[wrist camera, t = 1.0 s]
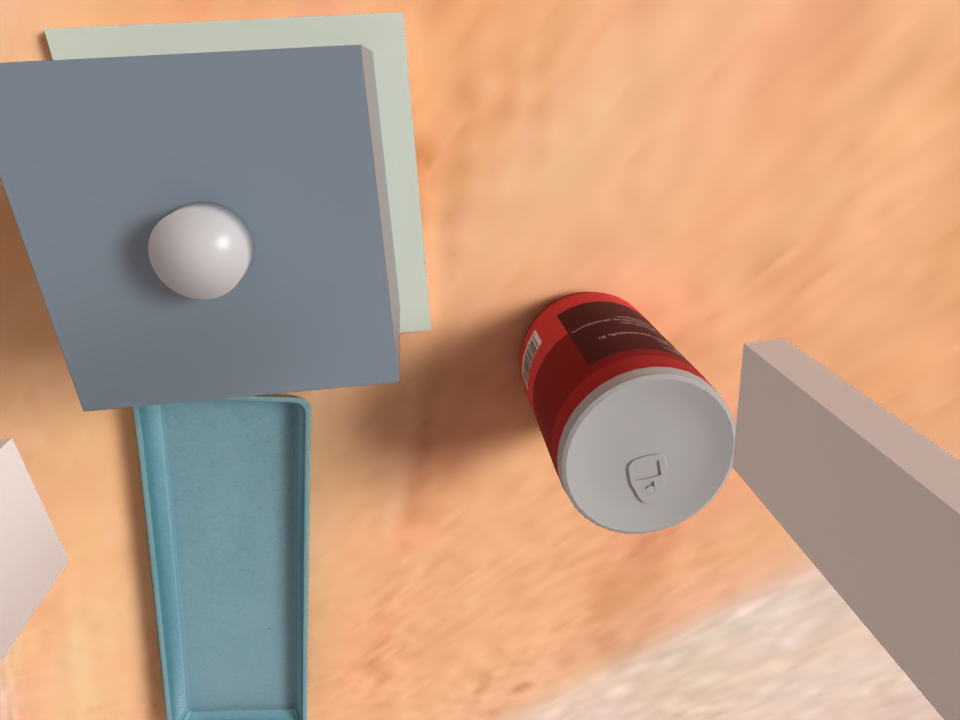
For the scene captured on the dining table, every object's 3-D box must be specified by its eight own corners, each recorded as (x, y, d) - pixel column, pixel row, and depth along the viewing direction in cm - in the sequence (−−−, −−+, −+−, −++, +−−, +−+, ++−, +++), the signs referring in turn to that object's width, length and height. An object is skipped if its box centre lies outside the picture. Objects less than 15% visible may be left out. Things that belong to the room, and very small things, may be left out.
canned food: (552, 435, 38) (604, 562, 29) (491, 328, 35) (527, 430, 25) (667, 376, 38) (762, 486, 28) (616, 262, 34) (704, 340, 24)
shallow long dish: (143, 372, 34) (125, 393, 32) (316, 381, 36) (310, 402, 34) (178, 707, 45) (166, 741, 43) (311, 704, 46) (307, 737, 44)
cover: (91, 66, 27) (-73, 64, 18) (372, 51, 28) (357, 42, 19) (163, 325, 32) (64, 431, 23) (400, 305, 33) (399, 399, 24)
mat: (51, 29, 27) (43, 29, 27) (403, 13, 28) (403, 12, 28) (145, 350, 33) (141, 355, 33) (430, 325, 35) (431, 330, 34)
